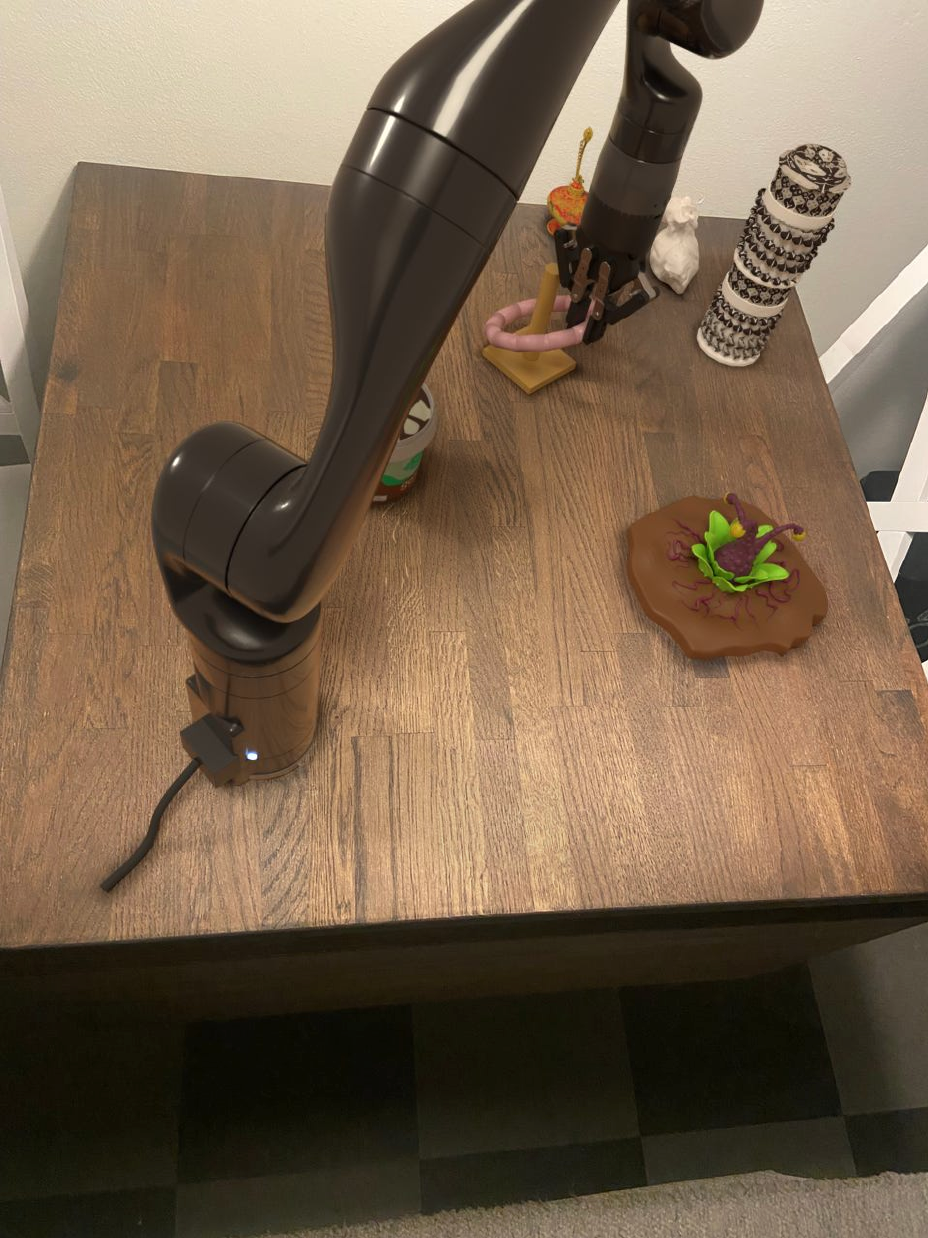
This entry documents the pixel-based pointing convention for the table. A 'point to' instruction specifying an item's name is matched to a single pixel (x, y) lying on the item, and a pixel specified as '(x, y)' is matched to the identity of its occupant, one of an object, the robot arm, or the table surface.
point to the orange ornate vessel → (569, 196)
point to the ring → (533, 341)
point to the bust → (677, 245)
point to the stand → (535, 366)
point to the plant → (723, 578)
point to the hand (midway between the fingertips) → (582, 334)
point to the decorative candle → (774, 252)
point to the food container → (408, 450)
